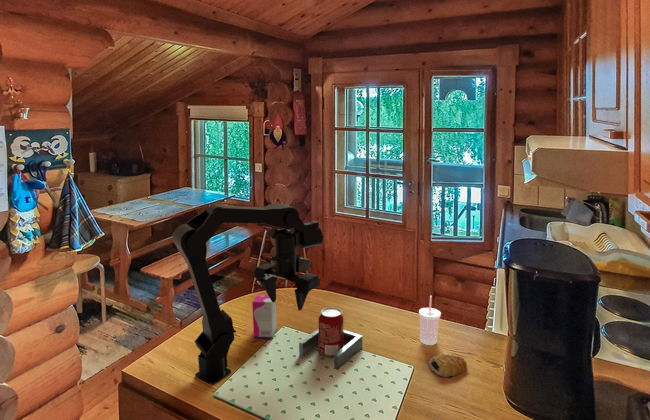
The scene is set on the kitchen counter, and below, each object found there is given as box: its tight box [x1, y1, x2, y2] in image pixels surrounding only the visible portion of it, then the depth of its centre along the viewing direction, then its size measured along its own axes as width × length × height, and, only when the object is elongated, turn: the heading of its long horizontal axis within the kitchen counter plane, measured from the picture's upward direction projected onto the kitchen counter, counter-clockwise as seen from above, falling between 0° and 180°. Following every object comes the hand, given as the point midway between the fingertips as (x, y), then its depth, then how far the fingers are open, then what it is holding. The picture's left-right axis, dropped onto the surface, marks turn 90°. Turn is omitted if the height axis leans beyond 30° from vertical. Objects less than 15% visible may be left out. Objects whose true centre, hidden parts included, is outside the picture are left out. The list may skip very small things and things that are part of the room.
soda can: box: [318, 307, 344, 358], centre depth 120 cm, size 7×7×12 cm
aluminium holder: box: [298, 328, 363, 371], centre depth 121 cm, size 13×12×4 cm
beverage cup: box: [418, 295, 442, 346], centre depth 125 cm, size 6×6×14 cm
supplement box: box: [252, 294, 278, 340], centre depth 130 cm, size 6×6×12 cm
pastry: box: [428, 353, 468, 378], centre depth 113 cm, size 9×7×4 cm
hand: (286, 305), depth 120 cm, fingers open, 9 cm apart
